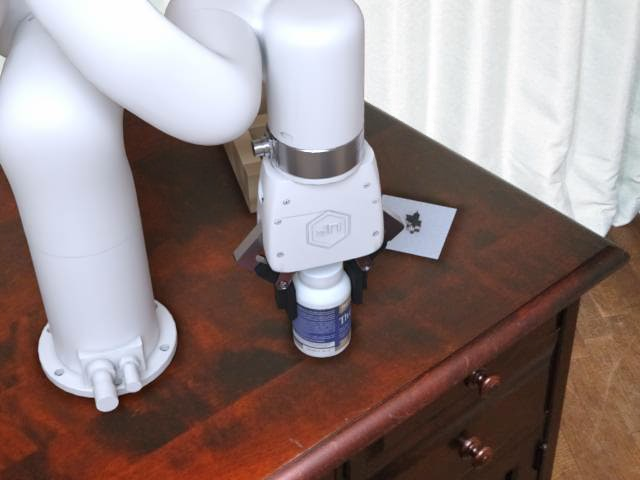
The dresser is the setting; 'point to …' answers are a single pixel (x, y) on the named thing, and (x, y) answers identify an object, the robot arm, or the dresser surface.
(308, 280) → the pill bottle
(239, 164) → the socket block
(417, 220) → the figurine
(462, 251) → the dresser surface
